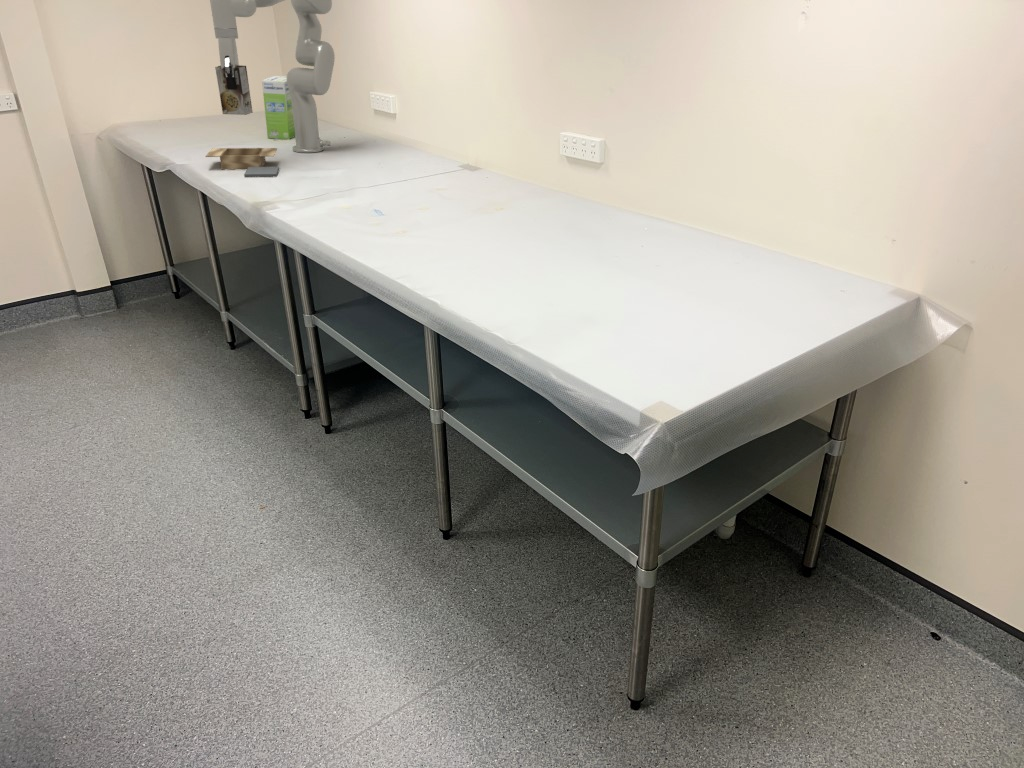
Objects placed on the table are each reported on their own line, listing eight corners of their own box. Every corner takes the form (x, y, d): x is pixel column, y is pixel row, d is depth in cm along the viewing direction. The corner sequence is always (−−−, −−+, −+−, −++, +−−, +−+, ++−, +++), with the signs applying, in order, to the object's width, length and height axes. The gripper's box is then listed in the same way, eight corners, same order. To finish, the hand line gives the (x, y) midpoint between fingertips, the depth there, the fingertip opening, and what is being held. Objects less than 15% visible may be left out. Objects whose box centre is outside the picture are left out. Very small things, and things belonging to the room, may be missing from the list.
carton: (278, 161, 290) (277, 148, 287) (275, 169, 277) (273, 155, 275) (214, 161, 285) (211, 148, 283) (207, 170, 273) (205, 156, 271)
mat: (279, 169, 278) (279, 166, 277) (276, 176, 267) (276, 174, 267) (248, 169, 276) (248, 166, 275) (244, 177, 266) (244, 174, 265)
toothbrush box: (290, 139, 327) (284, 81, 316) (267, 139, 327) (260, 80, 316) (302, 132, 343) (296, 76, 331) (279, 131, 343) (273, 75, 331)
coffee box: (253, 112, 275) (247, 65, 267) (246, 115, 269) (239, 67, 261) (229, 111, 276) (222, 64, 268) (221, 114, 270) (214, 66, 262)
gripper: (219, 31, 266) (227, 84, 275) (210, 35, 251) (219, 91, 260) (241, 32, 268) (248, 84, 276) (233, 35, 253) (241, 91, 261)
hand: (234, 87), depth 268 cm, fingers closed on coffee box, 7 cm apart
